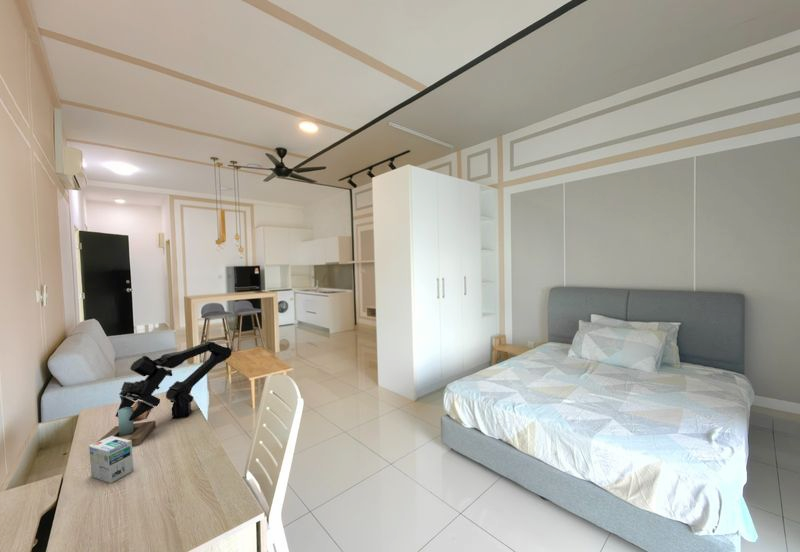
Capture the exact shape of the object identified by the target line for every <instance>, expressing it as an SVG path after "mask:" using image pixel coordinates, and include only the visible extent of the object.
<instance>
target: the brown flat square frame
mask: <svg viewBox="0 0 800 552" xmlns="http://www.w3.org/2000/svg"><path fill="white" fill-rule="evenodd" d="M133 424H134V433H133V434H132V435H126V436H120V437H119V425H116V426H114V427H112V428H111V429H110V430H109V431H108V432H107V433H106V434H103V436H102V437H101V438H100V439H98V440H97V441H96V442H99V441H101V440H103V439H106V438H108V437H110V436H115V437H119V438H123V439H128V440H132V448H133V447H138V446H140V445H141V444H142V443H143V442H144V441H145V440H146V439H147V438H148V436H149V435H151V433H152V432H153V431H154V430H155V429H156V420H151V421H143V422H138V423H135V422H134V423H133Z"/></svg>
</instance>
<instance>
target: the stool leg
mask: <svg viewBox="0 0 800 552" xmlns="http://www.w3.org/2000/svg"><path fill="white" fill-rule="evenodd" d="M118 409H119V408H118ZM118 409H117V411H118V417H117V419H118V420H117V421H118V426H119V437H120V436H126V435H132V434H133V433H134V424H135V423H134V422H133V420H132V421H129V418H130V417H131V415H132V414H133V406H131V407H125V408H122V409H119V410H118Z"/></svg>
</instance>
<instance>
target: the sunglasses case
mask: <svg viewBox="0 0 800 552" xmlns="http://www.w3.org/2000/svg"><path fill="white" fill-rule="evenodd" d="M138 401H139V400H136V401H135V402H136V403H135V404H133V405H132V407H133V412H134V411H135V409H136V408H137V406H138ZM151 409H153V408H151ZM151 409H150V410H148V411H146V412H145V413H143V414H141V415H140V416H138V417H137V418H135V419H134V420H133V423H135V422H140V421H144V420H147V419H148V416H149V414H150V413H149V412H151V411H152V410H151Z"/></svg>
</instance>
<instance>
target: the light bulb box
mask: <svg viewBox="0 0 800 552" xmlns="http://www.w3.org/2000/svg"><path fill="white" fill-rule="evenodd" d="M88 450H89V464H90V475H91V476H92V477H91V476H90V477H91V478H95V479H97V480H101V481H104V482H106V483H108V484H109V483H110V484H113V482H116V481H117V480H119V479H121V478H123V477H125V476H126V475H128V474H130V473H132V472H134V458H133V457H134V456H133V447H132V440H128V439H123V438H119V437H115V436H110V437H108V438H106V439H103V440H101V441H99V442H97V441H96V442H94V443H92V444H89V445H88Z"/></svg>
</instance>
